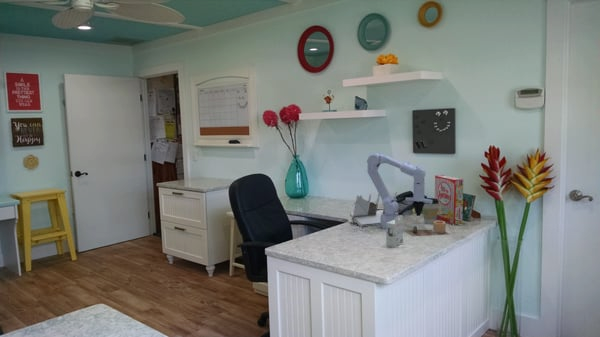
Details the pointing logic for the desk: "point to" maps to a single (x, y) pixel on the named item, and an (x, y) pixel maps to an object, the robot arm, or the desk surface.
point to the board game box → (449, 198)
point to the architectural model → (367, 212)
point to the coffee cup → (430, 211)
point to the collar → (439, 226)
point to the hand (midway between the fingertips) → (418, 215)
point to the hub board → (424, 232)
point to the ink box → (394, 232)
